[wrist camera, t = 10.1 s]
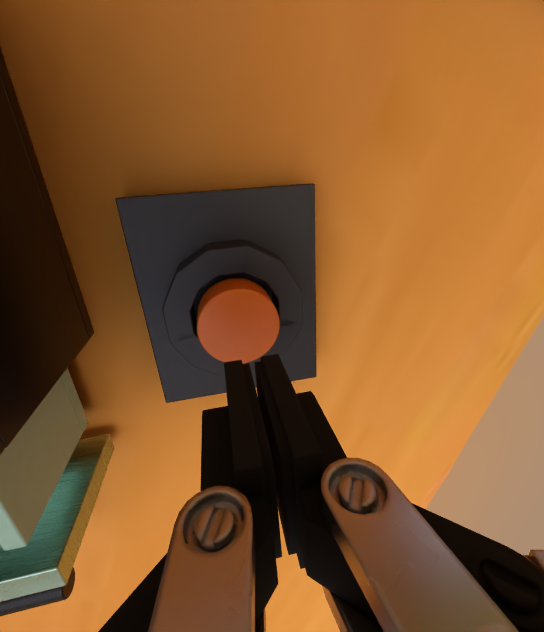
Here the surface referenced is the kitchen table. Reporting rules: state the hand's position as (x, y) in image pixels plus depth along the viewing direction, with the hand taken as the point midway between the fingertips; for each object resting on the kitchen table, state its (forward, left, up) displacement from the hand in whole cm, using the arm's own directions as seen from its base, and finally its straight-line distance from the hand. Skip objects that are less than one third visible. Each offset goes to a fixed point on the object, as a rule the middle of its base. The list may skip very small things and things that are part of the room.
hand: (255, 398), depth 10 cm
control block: (0, 0, -9) cm, 9 cm away
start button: (0, 0, -6) cm, 6 cm away
